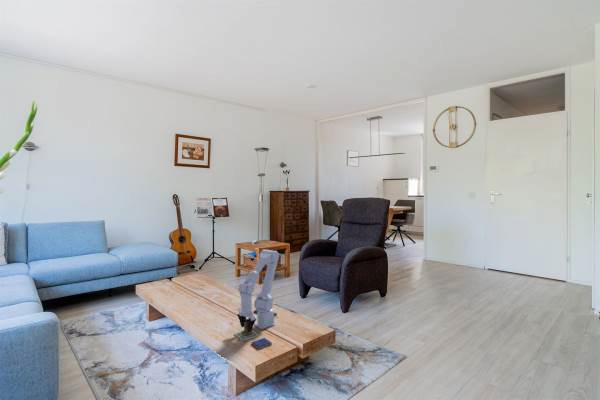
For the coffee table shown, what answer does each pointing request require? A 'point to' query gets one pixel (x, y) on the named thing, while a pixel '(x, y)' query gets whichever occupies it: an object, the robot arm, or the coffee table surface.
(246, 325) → the stamp
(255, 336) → the board
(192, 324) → the coffee table surface
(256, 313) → the phone
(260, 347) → the ink pad
